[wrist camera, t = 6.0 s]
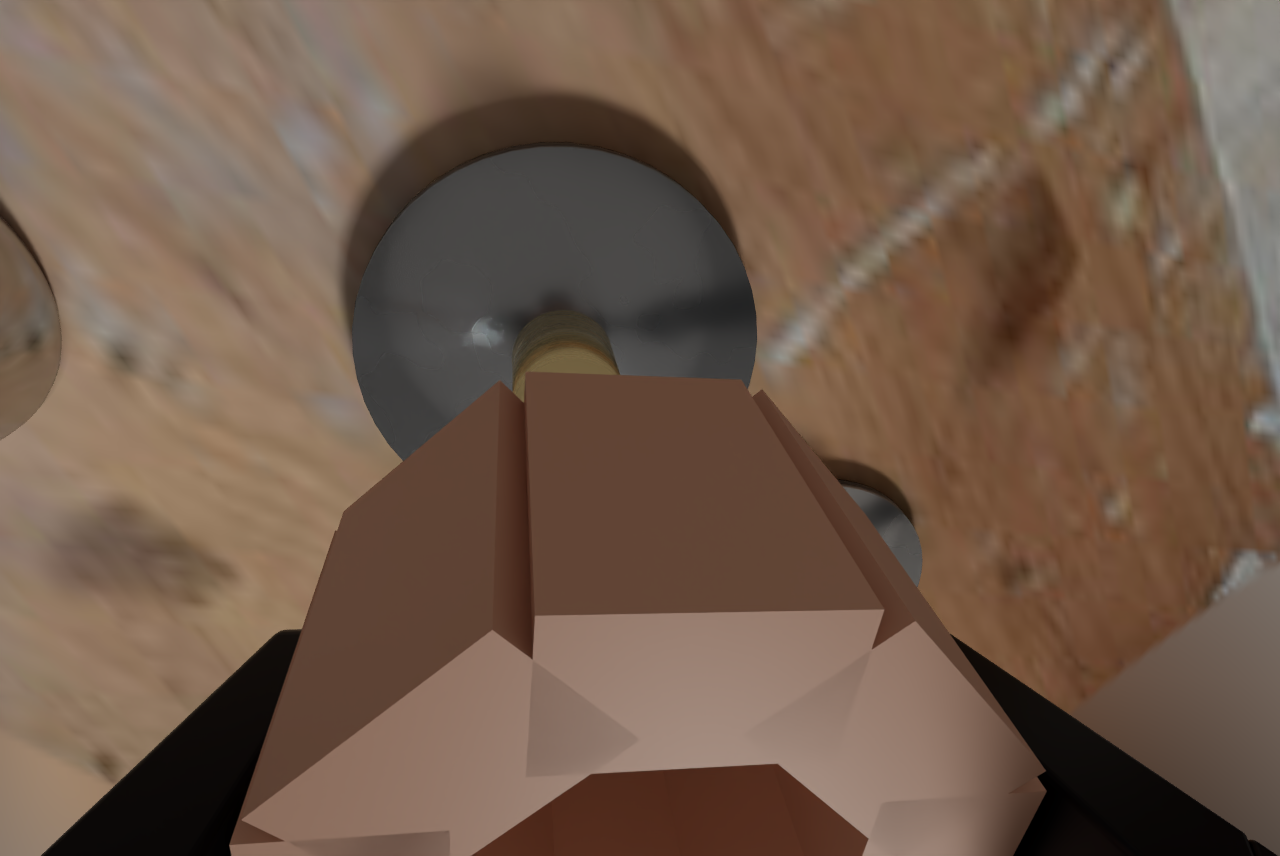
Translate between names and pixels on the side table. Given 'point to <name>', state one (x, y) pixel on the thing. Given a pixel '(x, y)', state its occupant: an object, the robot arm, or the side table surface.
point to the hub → (544, 285)
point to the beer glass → (25, 333)
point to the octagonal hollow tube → (627, 653)
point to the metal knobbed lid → (889, 526)
